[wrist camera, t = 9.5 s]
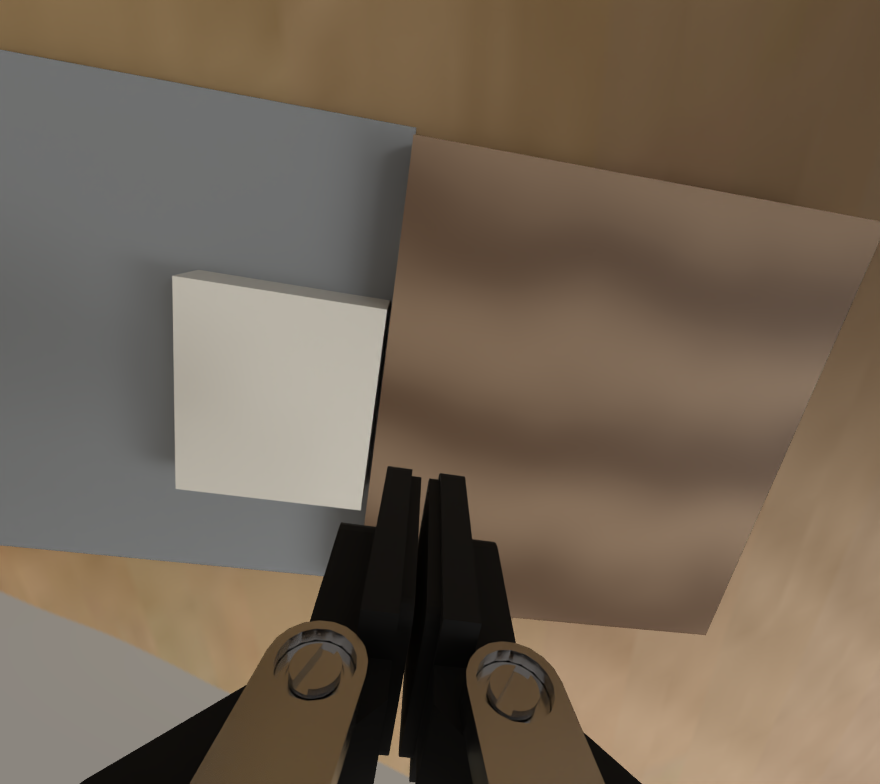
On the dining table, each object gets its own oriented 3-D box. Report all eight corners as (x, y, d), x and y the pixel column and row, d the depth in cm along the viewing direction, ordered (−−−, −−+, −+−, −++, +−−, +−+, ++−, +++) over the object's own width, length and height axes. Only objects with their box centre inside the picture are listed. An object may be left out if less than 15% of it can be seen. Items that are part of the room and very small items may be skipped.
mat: (-156, 22, 15) (-174, 16, 15) (415, 130, 17) (415, 127, 16) (-50, 532, 21) (-60, 539, 21) (359, 572, 23) (358, 579, 22)
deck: (414, 146, 17) (413, 134, 15) (827, 222, 18) (887, 222, 16) (360, 563, 23) (354, 603, 20) (677, 594, 24) (705, 635, 22)
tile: (198, 269, 17) (172, 275, 16) (390, 300, 18) (386, 309, 16) (198, 463, 20) (175, 489, 18) (365, 484, 21) (360, 510, 19)
